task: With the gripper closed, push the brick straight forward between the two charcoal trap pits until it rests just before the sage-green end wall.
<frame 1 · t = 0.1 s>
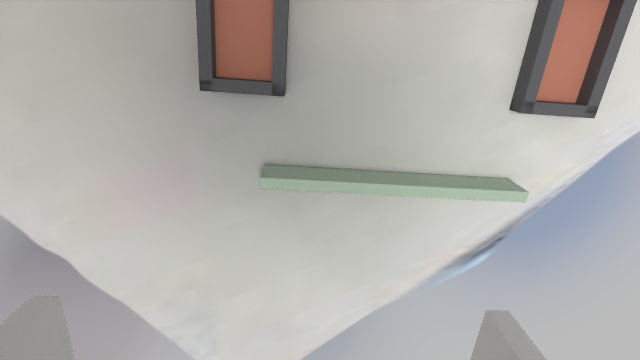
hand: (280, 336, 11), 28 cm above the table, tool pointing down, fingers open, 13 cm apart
sage end wall: (388, 176, 39), on the table
trap pits: (409, 38, 34), on the table
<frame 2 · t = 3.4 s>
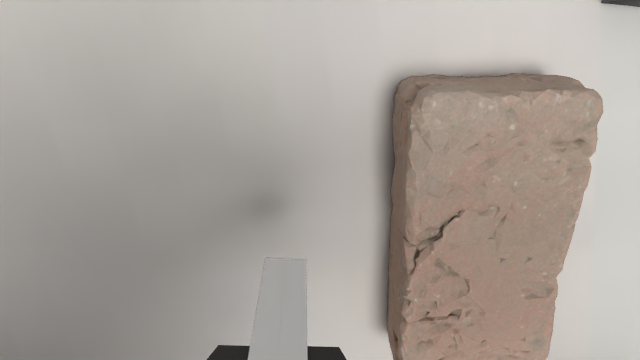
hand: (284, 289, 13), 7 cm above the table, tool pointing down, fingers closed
brick: (450, 216, 21), on the table
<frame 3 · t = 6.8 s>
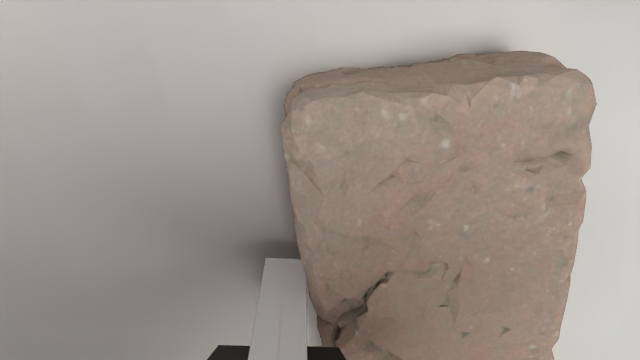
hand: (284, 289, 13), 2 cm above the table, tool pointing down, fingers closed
brick: (404, 256, 15), on the table
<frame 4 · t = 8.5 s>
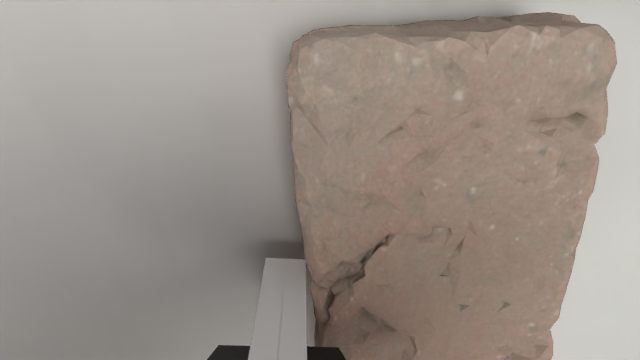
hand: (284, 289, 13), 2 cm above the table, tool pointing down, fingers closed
brick: (402, 233, 15), on the table
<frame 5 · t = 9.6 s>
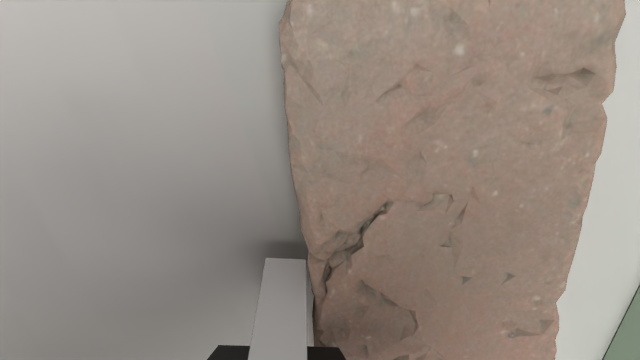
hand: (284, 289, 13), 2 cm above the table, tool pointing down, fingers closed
brick: (402, 211, 15), on the table, touching gripper
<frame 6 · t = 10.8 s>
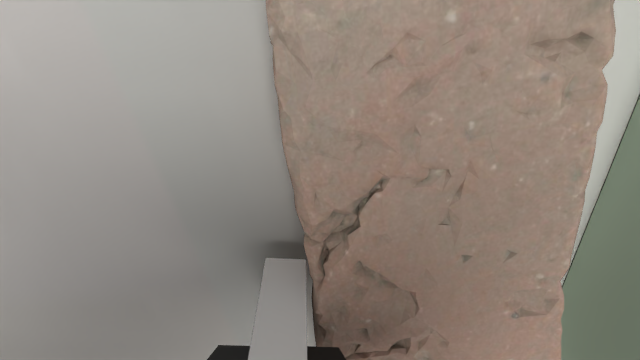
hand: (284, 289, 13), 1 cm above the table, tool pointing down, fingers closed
brick: (401, 195, 14), on the table, touching gripper
sage end wall: (578, 278, 16), on the table
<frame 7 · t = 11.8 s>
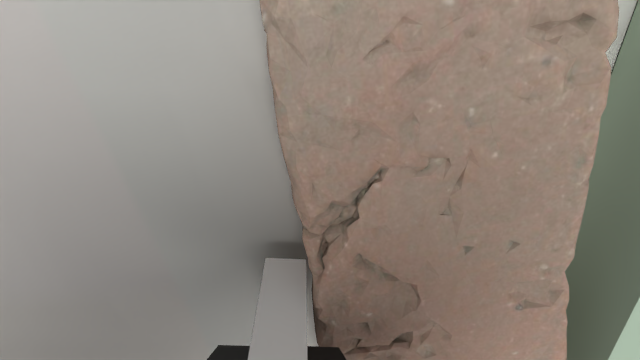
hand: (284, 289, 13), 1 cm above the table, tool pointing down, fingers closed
brick: (402, 188, 14), on the table
sage end wall: (549, 277, 15), on the table
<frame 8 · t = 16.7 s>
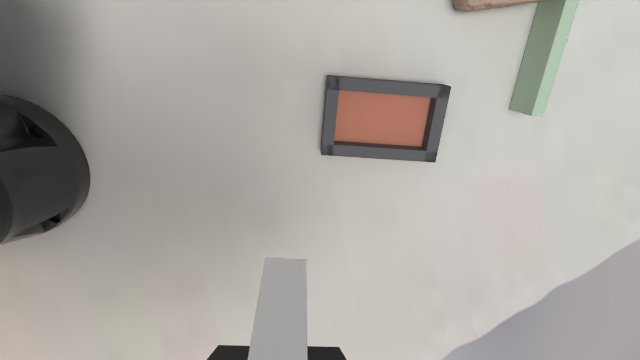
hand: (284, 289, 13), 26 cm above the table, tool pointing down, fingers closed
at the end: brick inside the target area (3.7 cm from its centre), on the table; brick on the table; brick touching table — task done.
